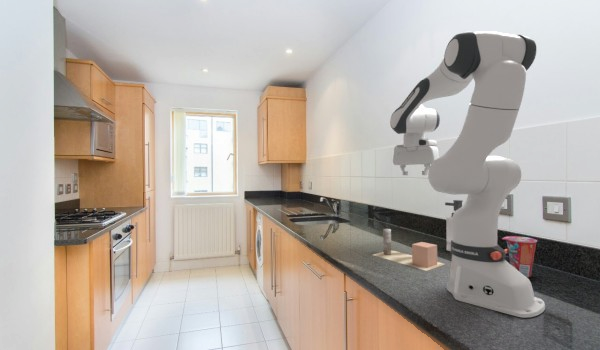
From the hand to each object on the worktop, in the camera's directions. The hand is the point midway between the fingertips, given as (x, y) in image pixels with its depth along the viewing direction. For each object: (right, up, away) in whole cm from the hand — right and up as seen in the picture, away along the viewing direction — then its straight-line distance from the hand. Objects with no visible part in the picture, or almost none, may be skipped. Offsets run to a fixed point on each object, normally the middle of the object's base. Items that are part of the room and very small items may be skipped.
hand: (414, 175), depth 125 cm
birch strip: (-9, -33, -15) cm, 37 cm away
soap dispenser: (+19, -33, +2) cm, 38 cm away
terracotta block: (-5, -32, -21) cm, 38 cm away
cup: (+24, -33, -29) cm, 50 cm away
